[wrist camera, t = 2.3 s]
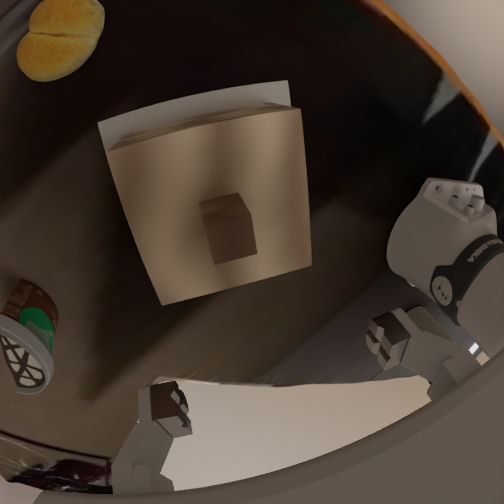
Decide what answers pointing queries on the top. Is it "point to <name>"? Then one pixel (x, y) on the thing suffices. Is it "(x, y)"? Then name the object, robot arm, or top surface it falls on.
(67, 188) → the top surface
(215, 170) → the tan block
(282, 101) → the white paper sheet
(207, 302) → the top surface
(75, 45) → the bread roll
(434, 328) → the travel mug
